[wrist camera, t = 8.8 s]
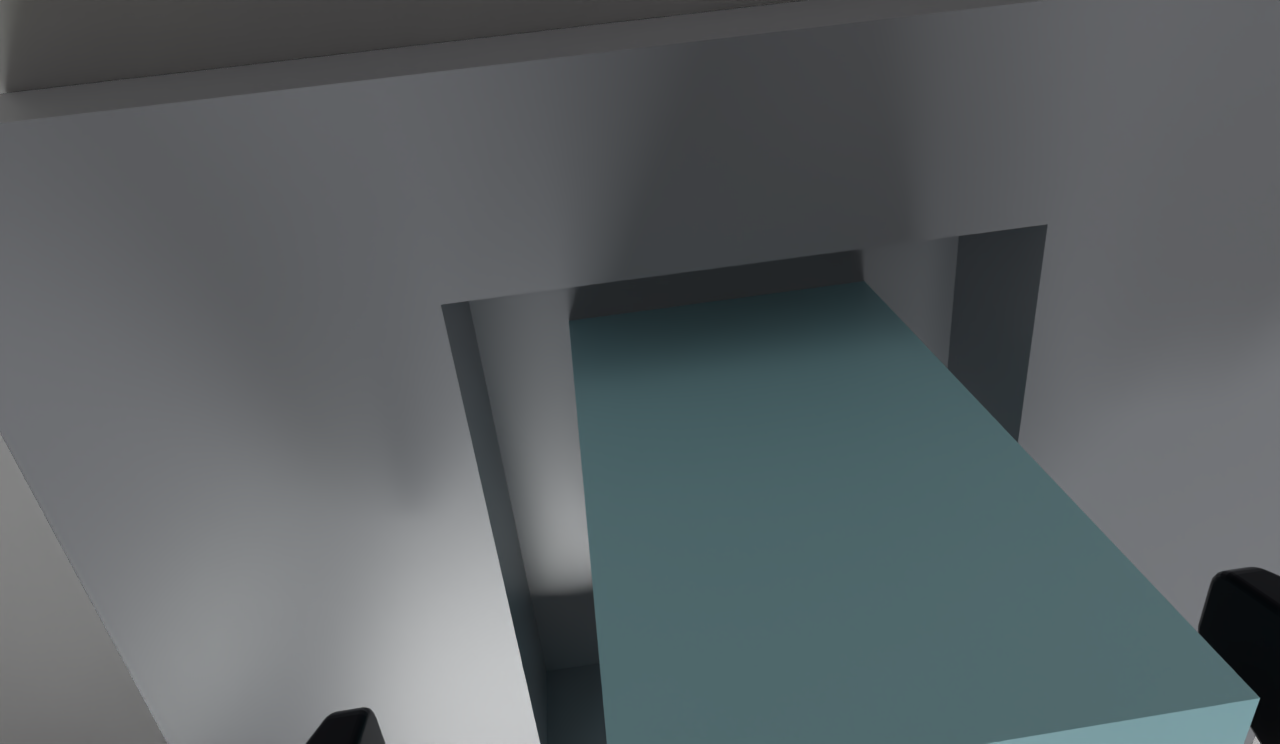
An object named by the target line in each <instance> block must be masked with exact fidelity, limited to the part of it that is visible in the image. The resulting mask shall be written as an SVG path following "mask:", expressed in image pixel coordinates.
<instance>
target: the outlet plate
mask: <svg viewBox="0 0 1280 744" xmlns="http://www.w3.org/2000/svg"><path fill="white" fill-rule="evenodd" d="M861 281H865V282H866V283H867V284H868V285H869V286H870V287H871V289H872V290H873V291H874V292H875V293H876V294H877V295H878V296H879V297H880V298H881V299H882V300H883V301H884V302H885V303H886V304H887V305H888V306H889V308H890V309H891V310H892V311H893V312H894V313H895V314H896V315H897V316H898V317H899V318H900V319H901V320H902V321H903V322H904V323H905V324H906V325H907V326H908V328H909V329H910V330H911V331H912V332H913V333H914V334H915V335H916V336H917V337H918V338H919V339H920V340H921V341H922V342H923V343H924V344H925V345H926V347H927V348H928V349H929V350H930V351H931V352H932V353H933V354H934V355H935V356H936V357H937V358H938V359H939V360H940V361H941V362H942V363H943V364H944V365H945V367H946V368H947V369H948V370H949V371H950V372H951V373H952V374H953V375H954V376H955V377H956V378H957V379H958V380H959V381H960V382H961V383H962V384H963V386H964V387H965V388H966V389H967V390H968V391H969V392H970V393H971V394H972V395H973V396H974V397H975V398H976V399H977V400H978V401H979V402H980V403H981V404H982V406H983V407H984V408H985V409H986V410H987V411H988V412H989V413H990V414H991V415H992V416H993V417H994V418H995V419H996V420H997V421H998V422H999V423H1000V424H1001V426H1002V427H1003V428H1004V429H1005V430H1006V431H1007V432H1008V433H1009V434H1010V435H1011V436H1012V437H1013V438H1014V439H1015V440H1016V441H1017V442H1018V443H1019V445H1020V446H1021V447H1022V448H1023V449H1024V450H1025V451H1026V452H1027V453H1028V454H1029V455H1030V456H1031V457H1032V458H1033V459H1034V460H1035V461H1036V462H1037V463H1038V465H1039V466H1040V467H1041V468H1042V469H1043V470H1044V471H1045V472H1046V473H1047V474H1048V475H1049V476H1050V477H1051V478H1052V479H1053V480H1054V481H1055V482H1056V484H1057V485H1058V486H1059V487H1060V488H1061V489H1062V490H1063V491H1064V492H1065V493H1066V494H1067V495H1068V496H1069V497H1070V498H1071V499H1072V500H1073V501H1074V502H1075V504H1076V505H1077V506H1078V507H1079V508H1080V509H1081V510H1082V511H1083V512H1084V513H1085V514H1086V515H1087V516H1088V517H1089V518H1090V519H1091V520H1092V521H1093V522H1094V524H1095V525H1096V526H1097V527H1098V528H1099V529H1100V530H1101V531H1102V532H1103V533H1104V534H1105V535H1106V536H1107V537H1108V538H1109V539H1110V540H1111V541H1112V543H1113V544H1114V545H1115V546H1116V547H1117V548H1118V549H1119V550H1120V551H1121V552H1122V553H1123V554H1124V555H1125V556H1126V557H1127V558H1128V559H1129V560H1130V561H1131V563H1132V564H1133V565H1134V566H1135V567H1136V568H1137V569H1138V570H1139V571H1140V572H1141V573H1142V574H1143V575H1144V576H1145V577H1146V578H1147V579H1148V580H1149V582H1150V583H1151V584H1152V585H1153V586H1154V587H1155V588H1156V589H1157V590H1158V591H1159V592H1160V593H1161V594H1162V595H1163V596H1164V597H1165V598H1166V599H1167V600H1168V602H1169V603H1170V604H1171V605H1172V606H1173V607H1174V608H1175V609H1176V610H1177V611H1178V612H1179V613H1180V614H1181V615H1182V616H1183V617H1184V618H1185V619H1186V620H1187V622H1188V623H1189V624H1190V625H1191V626H1192V627H1193V628H1194V629H1195V630H1196V631H1197V632H1198V623H1199V620H1200V616H1201V613H1202V609H1203V606H1204V602H1205V599H1206V596H1207V592H1208V589H1209V585H1210V582H1211V580H1212V578H1213V577H1214V576H1215V575H1216V574H1217V573H1218V572H1221V571H1225V570H1231V569H1238V568H1244V567H1259V568H1262V569H1265V570H1268V571H1270V572H1272V573H1274V574H1277V575H1279V576H1280V0H805V1H796V2H787V3H779V4H770V5H761V6H753V7H744V8H736V9H727V10H718V11H710V12H701V13H692V14H684V15H675V16H667V17H658V18H649V19H641V20H632V21H623V22H615V23H606V24H598V25H589V26H580V27H572V28H563V29H554V30H546V31H537V32H529V33H520V34H511V35H503V36H494V37H485V38H477V39H468V40H460V41H451V42H442V43H434V44H425V45H417V46H408V47H399V48H391V49H382V50H373V51H365V52H356V53H348V54H339V55H330V56H322V57H313V58H304V59H296V60H287V61H279V62H270V63H261V64H253V65H244V66H235V67H227V68H218V69H210V70H201V71H192V72H184V73H175V74H166V75H158V76H149V77H141V78H132V79H123V80H115V81H106V82H97V83H89V84H80V85H72V86H63V87H54V88H46V89H37V90H28V91H20V92H11V93H3V94H0V433H1V435H2V437H3V439H4V441H5V442H6V444H7V446H8V448H9V450H10V452H11V454H12V456H13V457H14V459H15V461H16V463H17V465H18V467H19V469H20V470H21V472H22V474H23V476H24V478H25V480H26V482H27V483H28V485H29V487H30V489H31V491H32V493H33V495H34V496H35V498H36V500H37V502H38V504H39V506H40V508H41V509H42V511H43V513H44V515H45V517H46V519H47V521H48V523H49V524H50V526H51V528H52V530H53V532H54V534H55V536H56V537H57V539H58V541H59V543H60V545H61V547H62V549H63V550H64V552H65V554H66V556H67V558H68V560H69V562H70V563H71V565H72V567H73V569H74V571H75V573H76V575H77V577H78V578H79V580H80V582H81V584H82V586H83V588H84V590H85V591H86V593H87V595H88V597H89V599H90V601H91V603H92V604H93V606H94V608H95V610H96V612H97V614H98V616H99V617H100V619H101V621H102V623H103V625H104V627H105V629H106V631H107V632H108V634H109V636H110V638H111V640H112V642H113V644H114V645H115V647H116V649H117V651H118V653H119V655H120V657H121V658H122V660H123V662H124V664H125V666H126V668H127V670H128V671H129V673H130V675H131V677H132V679H133V681H134V683H135V684H136V686H137V688H138V690H139V692H140V694H141V696H142V698H143V699H144V701H145V703H146V705H147V707H148V709H149V711H150V712H151V714H152V716H153V718H154V720H155V722H156V724H157V725H158V727H159V729H160V731H161V733H162V735H163V737H164V738H165V740H166V742H167V744H306V742H307V741H308V740H309V738H310V737H311V736H312V735H313V733H314V732H315V731H316V729H317V728H318V727H319V725H320V724H321V723H322V721H323V720H324V719H325V718H326V717H327V716H328V715H330V714H331V713H333V712H336V711H342V710H348V709H355V708H361V707H368V708H370V709H371V710H372V711H373V712H374V713H375V715H376V718H377V721H378V723H379V726H380V729H381V732H382V735H383V737H384V740H385V743H386V744H607V739H606V728H605V717H604V706H603V695H602V684H601V673H600V662H599V651H598V640H597V629H596V618H595V607H594V596H593V585H592V574H591V562H590V551H589V540H588V529H587V518H586V507H585V496H584V485H583V474H582V463H581V452H580V441H579V430H578V419H577V408H576V397H575V385H574V374H573V363H572V352H571V341H570V330H569V321H571V320H579V319H586V318H594V317H601V316H609V315H616V314H623V313H631V312H638V311H646V310H653V309H661V308H668V307H675V306H683V305H690V304H698V303H705V302H713V301H720V300H727V299H735V298H742V297H750V296H757V295H765V294H772V293H779V292H787V291H794V290H802V289H809V288H816V287H824V286H831V285H839V284H846V283H854V282H861ZM1254 738H1255V734H1254V732H1253V731H1252V729H1251V727H1250V728H1249V731H1248V733H1247V736H1246V739H1245V742H1244V744H1252V743H1253V740H1254Z"/></svg>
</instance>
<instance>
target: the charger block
mask: <svg viewBox="0 0 1280 744" xmlns="http://www.w3.org/2000/svg"><path fill="white" fill-rule="evenodd" d="M569 330H570V341H571V352H572V363H573V374H574V385H575V397H576V408H577V419H578V430H579V441H580V452H581V463H582V474H583V485H584V496H585V507H586V518H587V529H588V540H589V551H590V562H591V574H592V585H593V596H594V607H595V618H596V629H597V640H598V651H599V662H600V673H601V684H602V695H603V706H604V717H605V728H606V739H607V744H1244V742H1245V739H1246V736H1247V733H1248V731H1249V728H1250V725H1251V722H1252V719H1253V717H1254V714H1255V711H1256V708H1257V706H1258V703H1259V700H1260V697H1259V696H1258V695H1257V694H1256V693H1255V692H1254V691H1253V690H1252V689H1251V688H1250V687H1249V686H1248V685H1247V684H1246V683H1245V682H1244V681H1243V680H1242V678H1241V677H1240V676H1239V675H1238V674H1237V673H1236V672H1235V671H1234V670H1233V669H1232V668H1231V667H1230V666H1229V665H1228V664H1227V663H1226V662H1225V661H1224V659H1223V658H1222V657H1221V656H1220V655H1219V654H1218V653H1217V652H1216V651H1215V650H1214V649H1213V648H1212V647H1211V646H1210V645H1209V644H1208V643H1207V642H1206V641H1205V639H1204V638H1203V637H1202V636H1201V635H1200V634H1199V633H1198V632H1197V631H1196V630H1195V629H1194V628H1193V627H1192V626H1191V625H1190V624H1189V623H1188V622H1187V620H1186V619H1185V618H1184V617H1183V616H1182V615H1181V614H1180V613H1179V612H1178V611H1177V610H1176V609H1175V608H1174V607H1173V606H1172V605H1171V604H1170V603H1169V602H1168V600H1167V599H1166V598H1165V597H1164V596H1163V595H1162V594H1161V593H1160V592H1159V591H1158V590H1157V589H1156V588H1155V587H1154V586H1153V585H1152V584H1151V583H1150V582H1149V580H1148V579H1147V578H1146V577H1145V576H1144V575H1143V574H1142V573H1141V572H1140V571H1139V570H1138V569H1137V568H1136V567H1135V566H1134V565H1133V564H1132V563H1131V561H1130V560H1129V559H1128V558H1127V557H1126V556H1125V555H1124V554H1123V553H1122V552H1121V551H1120V550H1119V549H1118V548H1117V547H1116V546H1115V545H1114V544H1113V543H1112V541H1111V540H1110V539H1109V538H1108V537H1107V536H1106V535H1105V534H1104V533H1103V532H1102V531H1101V530H1100V529H1099V528H1098V527H1097V526H1096V525H1095V524H1094V522H1093V521H1092V520H1091V519H1090V518H1089V517H1088V516H1087V515H1086V514H1085V513H1084V512H1083V511H1082V510H1081V509H1080V508H1079V507H1078V506H1077V505H1076V504H1075V502H1074V501H1073V500H1072V499H1071V498H1070V497H1069V496H1068V495H1067V494H1066V493H1065V492H1064V491H1063V490H1062V489H1061V488H1060V487H1059V486H1058V485H1057V484H1056V482H1055V481H1054V480H1053V479H1052V478H1051V477H1050V476H1049V475H1048V474H1047V473H1046V472H1045V471H1044V470H1043V469H1042V468H1041V467H1040V466H1039V465H1038V463H1037V462H1036V461H1035V460H1034V459H1033V458H1032V457H1031V456H1030V455H1029V454H1028V453H1027V452H1026V451H1025V450H1024V449H1023V448H1022V447H1021V446H1020V445H1019V443H1018V442H1017V441H1016V440H1015V439H1014V438H1013V437H1012V436H1011V435H1010V434H1009V433H1008V432H1007V431H1006V430H1005V429H1004V428H1003V427H1002V426H1001V424H1000V423H999V422H998V421H997V420H996V419H995V418H994V417H993V416H992V415H991V414H990V413H989V412H988V411H987V410H986V409H985V408H984V407H983V406H982V404H981V403H980V402H979V401H978V400H977V399H976V398H975V397H974V396H973V395H972V394H971V393H970V392H969V391H968V390H967V389H966V388H965V387H964V386H963V384H962V383H961V382H960V381H959V380H958V379H957V378H956V377H955V376H954V375H953V374H952V373H951V372H950V371H949V370H948V369H947V368H946V367H945V365H944V364H943V363H942V362H941V361H940V360H939V359H938V358H937V357H936V356H935V355H934V354H933V353H932V352H931V351H930V350H929V349H928V348H927V347H926V345H925V344H924V343H923V342H922V341H921V340H920V339H919V338H918V337H917V336H916V335H915V334H914V333H913V332H912V331H911V330H910V329H909V328H908V326H907V325H906V324H905V323H904V322H903V321H902V320H901V319H900V318H899V317H898V316H897V315H896V314H895V313H894V312H893V311H892V310H891V309H890V308H889V306H888V305H887V304H886V303H885V302H884V301H883V300H882V299H881V298H880V297H879V296H878V295H877V294H876V293H875V292H874V291H873V290H872V289H871V287H870V286H869V285H868V284H867V283H866V282H865V281H861V282H854V283H846V284H839V285H831V286H824V287H816V288H809V289H802V290H794V291H787V292H779V293H772V294H765V295H757V296H750V297H742V298H735V299H727V300H720V301H713V302H705V303H698V304H690V305H683V306H675V307H668V308H661V309H653V310H646V311H638V312H631V313H623V314H616V315H609V316H601V317H594V318H586V319H579V320H571V321H569Z"/></svg>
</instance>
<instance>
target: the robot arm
mask: <svg viewBox="0 0 1280 744" xmlns="http://www.w3.org/2000/svg"><path fill="white" fill-rule="evenodd" d="M1198 633H1199V634H1200V635H1201V636H1202V637H1203V638H1204V639H1205V641H1206V642H1207V643H1208V644H1209V645H1210V646H1211V647H1212V648H1213V649H1214V650H1215V651H1216V652H1217V653H1218V654H1219V655H1220V656H1221V657H1222V658H1223V659H1224V661H1225V662H1226V663H1227V664H1228V665H1229V666H1230V667H1231V668H1232V669H1233V670H1234V671H1235V672H1236V673H1237V674H1238V675H1239V676H1240V677H1241V678H1242V680H1243V681H1244V682H1245V683H1246V684H1247V685H1248V686H1249V687H1250V688H1251V689H1252V690H1253V691H1254V692H1255V693H1256V694H1257V695H1258V696H1259V697H1260V700H1259V703H1258V706H1257V708H1256V711H1255V714H1254V717H1253V719H1252V722H1251V725H1250V727H1251V729H1252V731H1253V732H1254V734H1255V735H1256V737H1257V739H1258V740H1259V742H1260V744H1280V576H1279V575H1277V574H1274V573H1272V572H1270V571H1268V570H1265V569H1262V568H1259V567H1244V568H1238V569H1231V570H1225V571H1221V572H1218V573H1217V574H1216V575H1215V576H1214V577H1213V578H1212V580H1211V582H1210V585H1209V589H1208V592H1207V596H1206V599H1205V602H1204V606H1203V609H1202V613H1201V616H1200V620H1199V623H1198ZM306 744H386V743H385V740H384V737H383V735H382V732H381V729H380V726H379V723H378V721H377V718H376V715H375V713H374V712H373V711H372V710H371V709H370V708H368V707H361V708H355V709H348V710H342V711H336V712H333V713H331V714H330V715H328V716H327V717H326V718H325V719H324V720H323V721H322V723H321V724H320V725H319V727H318V728H317V729H316V731H315V732H314V733H313V735H312V736H311V737H310V738H309V740H308V741H307V742H306Z"/></svg>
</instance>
